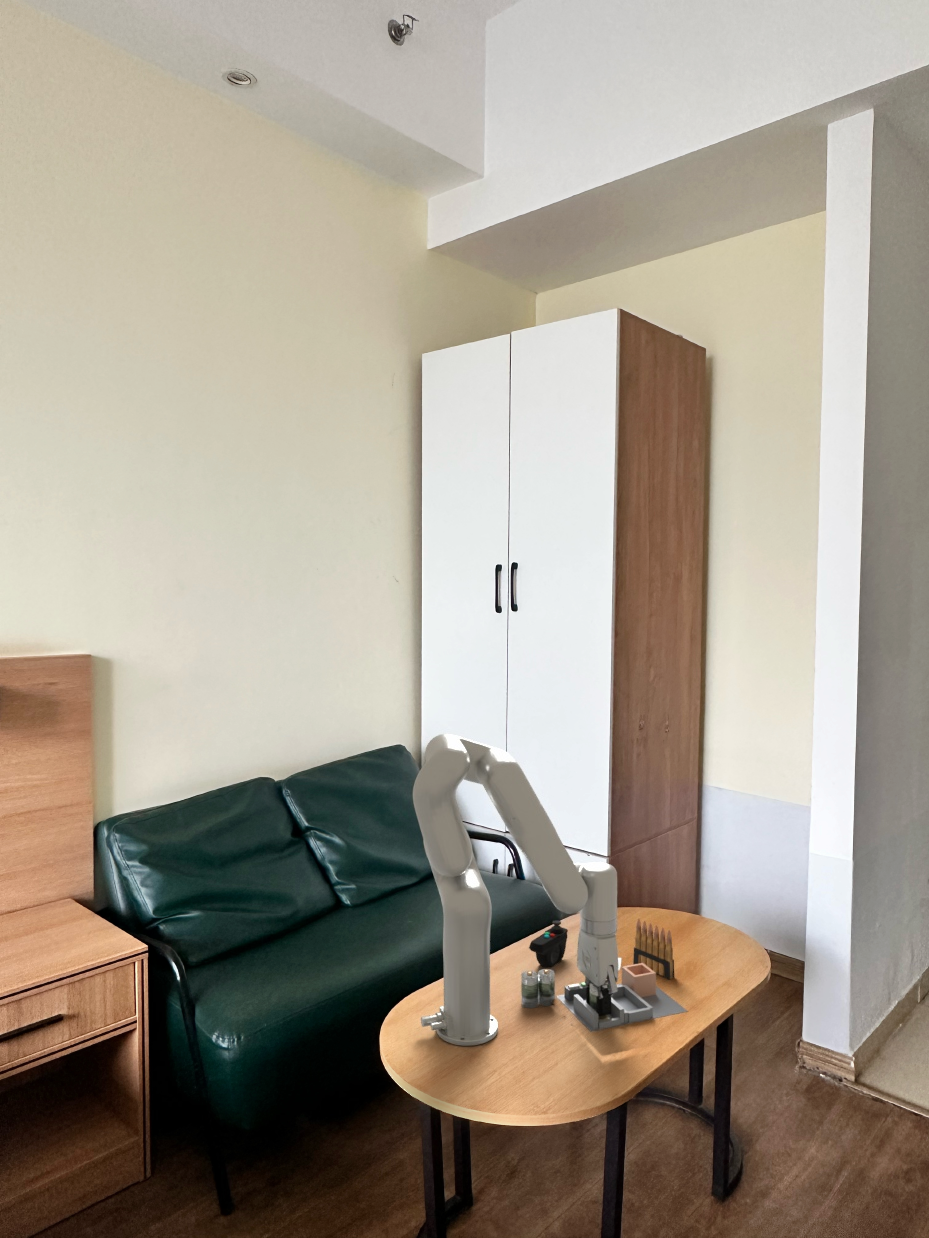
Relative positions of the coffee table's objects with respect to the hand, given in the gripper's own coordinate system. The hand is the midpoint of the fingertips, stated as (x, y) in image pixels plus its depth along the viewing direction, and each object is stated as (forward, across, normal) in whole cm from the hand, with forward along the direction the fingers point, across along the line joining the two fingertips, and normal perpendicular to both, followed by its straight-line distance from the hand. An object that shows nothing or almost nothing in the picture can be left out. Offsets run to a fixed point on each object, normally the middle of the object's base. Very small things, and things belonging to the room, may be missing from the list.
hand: (598, 1008), depth 185 cm
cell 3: (+1, 0, 0) cm, 1 cm away
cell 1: (+2, -12, -10) cm, 16 cm away
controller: (+3, -26, +1) cm, 26 cm away
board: (+2, -3, +7) cm, 8 cm away
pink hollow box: (+1, -6, +14) cm, 15 cm away
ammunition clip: (+3, -14, +22) cm, 26 cm away
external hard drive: (+3, -19, +12) cm, 23 cm away
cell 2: (+2, -11, -7) cm, 13 cm away
